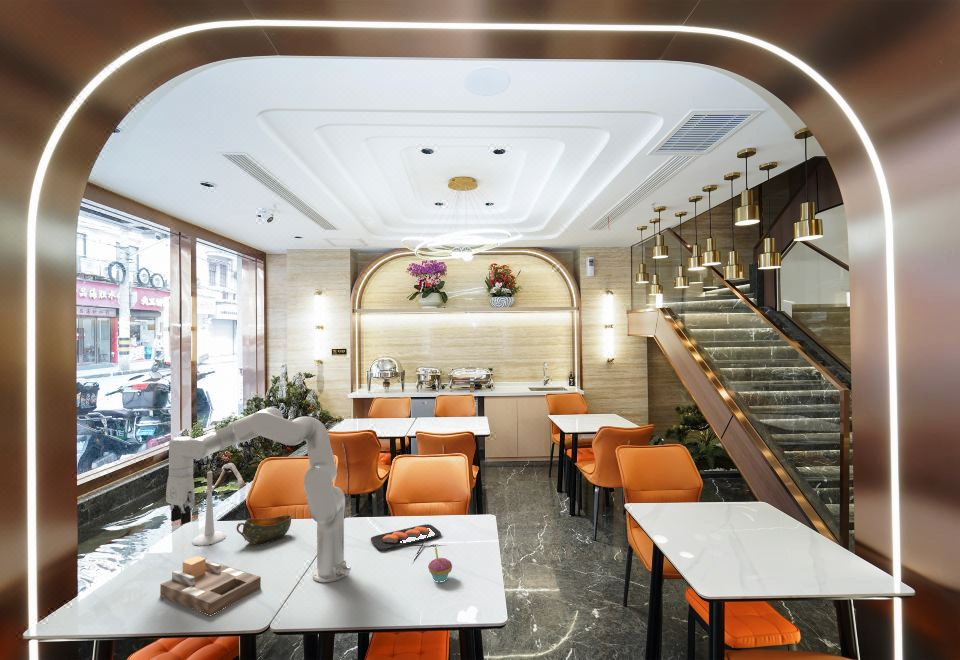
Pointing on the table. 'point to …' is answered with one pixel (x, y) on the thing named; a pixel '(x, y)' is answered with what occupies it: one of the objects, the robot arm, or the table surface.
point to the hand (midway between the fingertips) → (180, 521)
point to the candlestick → (209, 520)
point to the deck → (210, 588)
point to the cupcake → (440, 568)
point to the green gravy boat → (265, 529)
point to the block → (195, 566)
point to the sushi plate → (403, 537)
